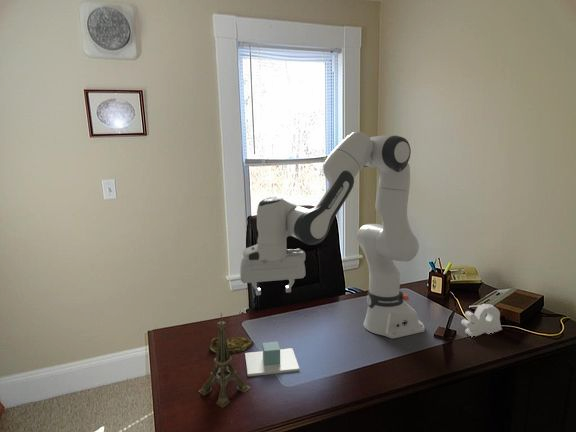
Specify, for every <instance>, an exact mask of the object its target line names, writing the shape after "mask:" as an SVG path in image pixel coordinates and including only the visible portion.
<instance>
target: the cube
mask: <svg viewBox="0 0 576 432" xmlns="http://www.w3.org/2000/svg"><path fill="white" fill-rule="evenodd" d="M280 349H281V348H280V345H279V342H278V341H269V342H262V351H263V360H264V365H265V366H267V365H276V364H280Z"/></svg>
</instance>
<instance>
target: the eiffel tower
mask: <svg viewBox="0 0 576 432" xmlns="http://www.w3.org/2000/svg"><path fill="white" fill-rule="evenodd" d="M222 316H223V315H222V313H220V321H218V322H217V323H216V327H217V328H218V333H217V337H218V341H217V342H218V345H217V353H216V356H215V358H214V359H213V362H214V367H213V370H212V372H210V374H211V375H210V377H208V380H206V382H205V383H204V384H203V385H202V387H201V388H200V389H199V390H197V392H198V393H199V394H201V395H202V396H206V395H207V394H209V393H211V392H212V391H213V390H212V388H213V386H214V384H215V383H217V384H218V385H219V386H220V389H219V395H218V399H217V400H216V402H215V404H216V405H217V406H220V408H222V409H223V408H225V407H226V406H228V404H230V403H231V401H230V399H229V397H228V391H227V385H228V384H229V383H230V382H234V384H235V385H236V389H237V391H239V392H241V393H243V394H244V393H246V392H247V391H249V390H250V389H251V387H250V386H249V385H247V384H246V382H245V381H244V380H243V379H242V378H241V377H240V376H239V375H238V374H237V372H238V371H237V370H235V368H234V366H233V362H232V361H233V357H232V356H230V355H231V354H229V349H228V344H227V334H226V333H227V331H226V329H225V328H226V327H228V325H227V322H226V321H224V320H223V317H222Z"/></svg>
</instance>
